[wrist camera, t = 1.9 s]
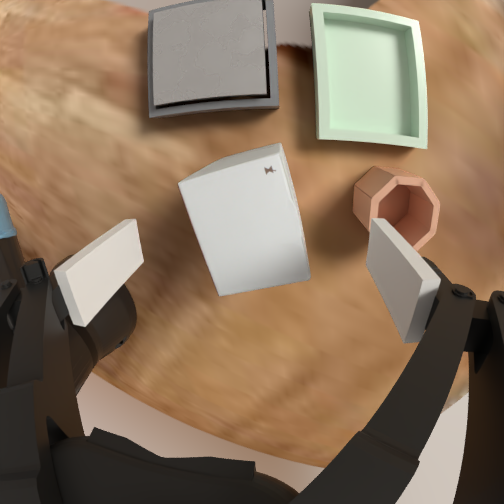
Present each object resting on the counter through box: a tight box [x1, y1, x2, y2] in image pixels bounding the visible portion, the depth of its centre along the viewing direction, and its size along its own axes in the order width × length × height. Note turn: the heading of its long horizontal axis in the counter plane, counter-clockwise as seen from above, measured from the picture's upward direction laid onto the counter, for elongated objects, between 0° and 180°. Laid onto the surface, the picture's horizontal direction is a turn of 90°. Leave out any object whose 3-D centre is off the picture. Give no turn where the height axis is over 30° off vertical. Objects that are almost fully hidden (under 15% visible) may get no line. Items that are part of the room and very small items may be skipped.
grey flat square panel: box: [153, 0, 267, 106], centre depth 20 cm, size 10×10×1 cm
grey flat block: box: [148, 0, 279, 118], centre depth 21 cm, size 12×12×4 cm
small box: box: [178, 143, 311, 296], centre depth 22 cm, size 8×6×13 cm
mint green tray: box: [309, 3, 428, 149], centre depth 21 cm, size 11×14×2 cm
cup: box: [353, 166, 440, 252], centre depth 25 cm, size 7×7×6 cm
